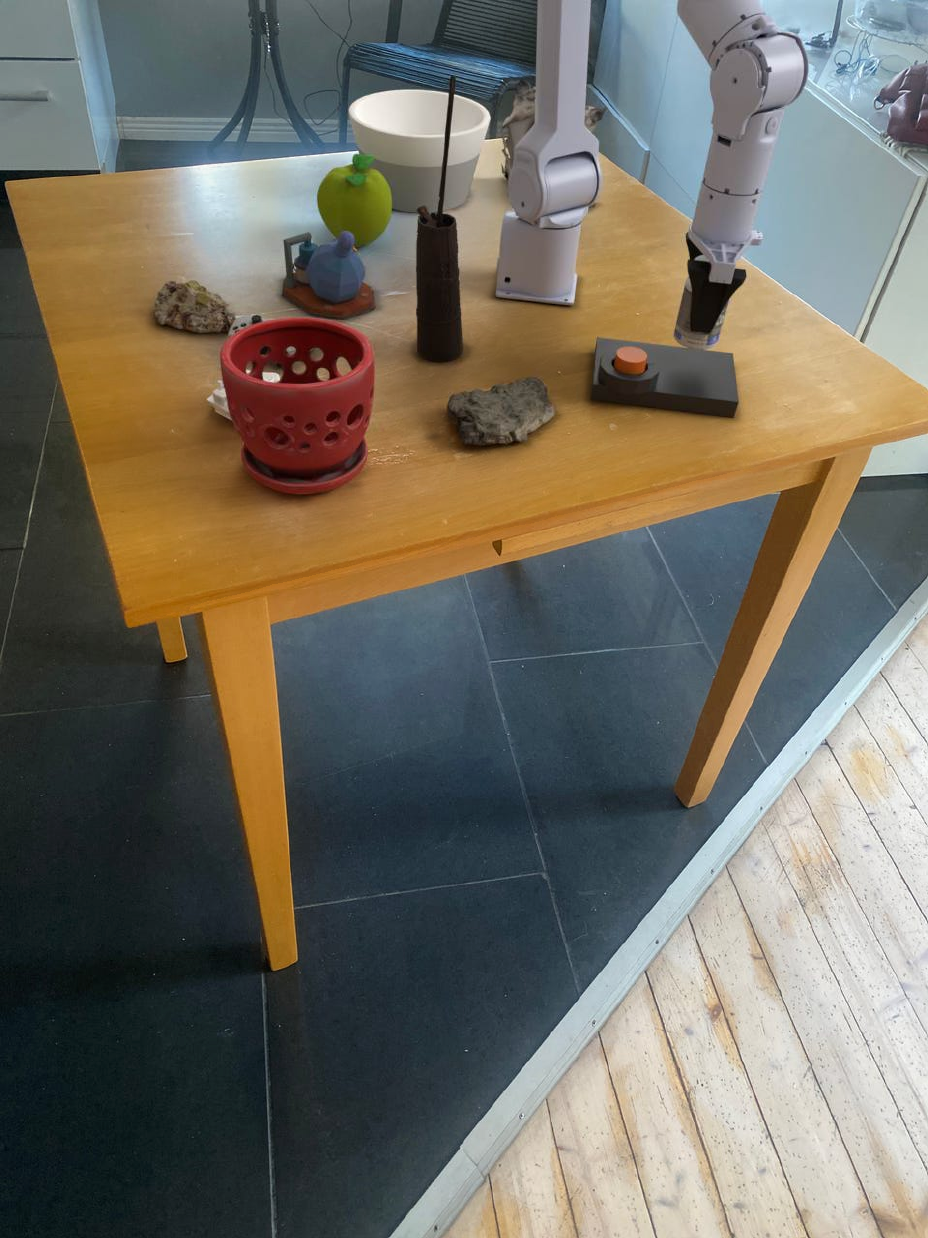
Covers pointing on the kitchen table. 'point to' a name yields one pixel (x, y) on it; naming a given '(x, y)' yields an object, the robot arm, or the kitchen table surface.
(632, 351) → the button
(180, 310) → the mineral rock
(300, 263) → the model
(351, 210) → the fruit
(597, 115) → the jagged grey brown piece
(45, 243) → the kitchen table surface
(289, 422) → the plant pot
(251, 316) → the game controller
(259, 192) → the kitchen table surface
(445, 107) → the bowl
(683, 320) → the pill bottle
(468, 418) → the stone
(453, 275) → the butter churn
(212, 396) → the toy car
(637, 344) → the grey push button box
